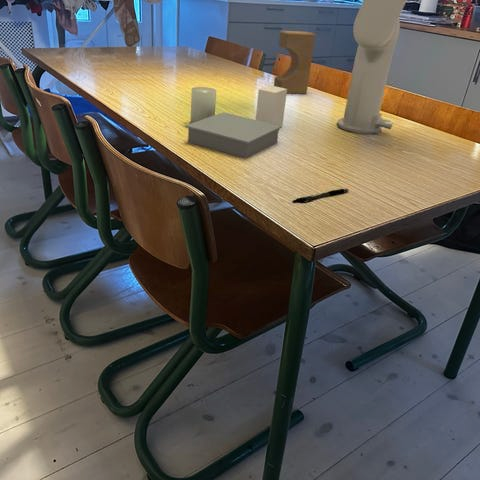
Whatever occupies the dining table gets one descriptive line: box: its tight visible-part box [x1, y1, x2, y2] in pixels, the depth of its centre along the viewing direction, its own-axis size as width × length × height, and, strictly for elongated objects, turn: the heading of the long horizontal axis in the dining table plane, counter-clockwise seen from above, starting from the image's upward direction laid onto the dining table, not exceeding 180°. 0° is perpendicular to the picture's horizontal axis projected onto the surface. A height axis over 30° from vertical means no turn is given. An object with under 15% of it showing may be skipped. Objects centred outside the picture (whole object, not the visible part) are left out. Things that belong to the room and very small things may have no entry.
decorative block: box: [273, 30, 316, 95], centre depth 167 cm, size 11×6×20 cm, turn 110°
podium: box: [185, 111, 283, 159], centre depth 117 cm, size 17×17×4 cm
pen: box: [292, 188, 350, 204], centre depth 93 cm, size 14×2×1 cm, turn 122°
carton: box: [255, 85, 288, 126], centre depth 130 cm, size 5×7×10 cm
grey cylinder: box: [189, 86, 217, 124], centre depth 127 cm, size 6×6×9 cm
